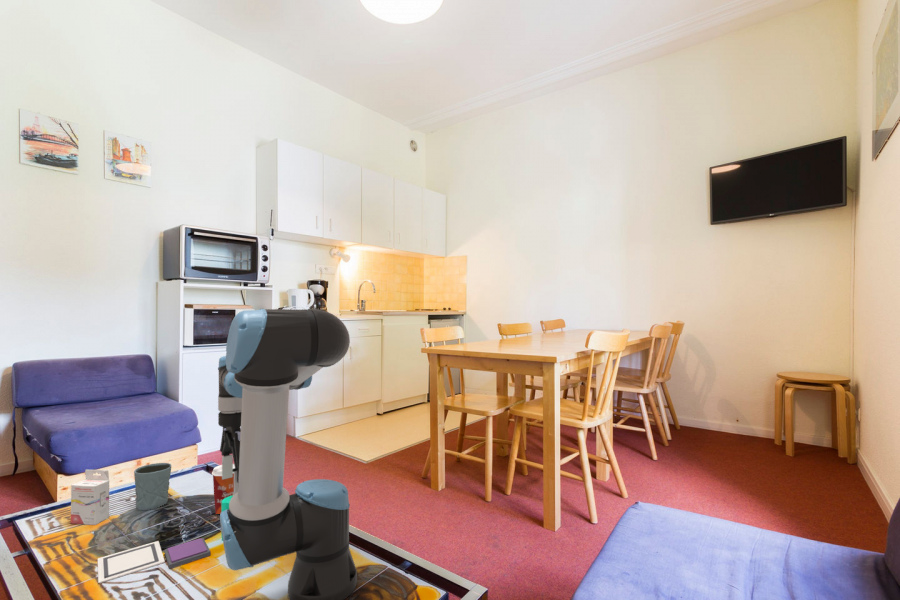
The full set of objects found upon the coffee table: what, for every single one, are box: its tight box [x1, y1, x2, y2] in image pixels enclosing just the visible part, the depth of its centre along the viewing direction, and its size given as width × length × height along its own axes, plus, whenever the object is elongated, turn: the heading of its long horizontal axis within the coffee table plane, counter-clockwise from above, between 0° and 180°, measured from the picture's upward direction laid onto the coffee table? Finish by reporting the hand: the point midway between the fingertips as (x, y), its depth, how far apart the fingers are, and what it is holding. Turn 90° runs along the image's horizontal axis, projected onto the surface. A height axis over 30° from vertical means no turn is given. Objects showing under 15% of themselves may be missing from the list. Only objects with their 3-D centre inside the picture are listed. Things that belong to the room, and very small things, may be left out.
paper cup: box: [211, 463, 235, 515], centre depth 137 cm, size 8×8×14 cm
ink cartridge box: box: [70, 469, 110, 526], centre depth 132 cm, size 9×5×15 cm, turn 84°
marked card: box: [97, 540, 166, 584], centre depth 110 cm, size 13×13×1 cm
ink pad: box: [164, 537, 211, 570], centre depth 113 cm, size 9×9×1 cm
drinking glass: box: [133, 462, 172, 511], centre depth 143 cm, size 10×10×12 cm
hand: (233, 485), depth 122 cm, fingers open, 13 cm apart
